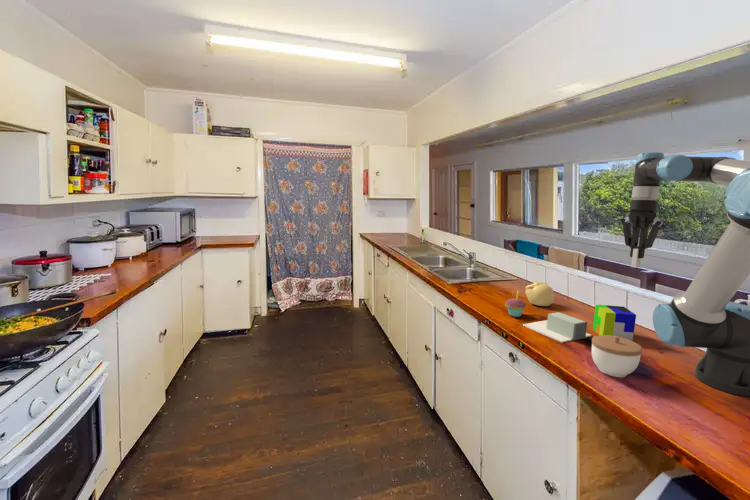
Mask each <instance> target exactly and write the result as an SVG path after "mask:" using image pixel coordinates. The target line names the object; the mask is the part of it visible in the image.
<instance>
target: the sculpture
mask: <svg viewBox="0 0 750 500" xmlns="http://www.w3.org/2000/svg"><path fill="white" fill-rule="evenodd" d="M525 295H526V298H527V300H528V302H529V303H530V304H532V305H536V306H540V307H549V306H551V305H552V303H553V302H554V299H555V292H554V289H553V288H552V287H551V286H550V285H548V284H547V282H542V281H535V282H533V283H531V284H528V285H526V286H525Z"/></svg>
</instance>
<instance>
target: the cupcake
mask: <svg viewBox="0 0 750 500" xmlns="http://www.w3.org/2000/svg"><path fill="white" fill-rule="evenodd" d="M516 291H517V292H516V298H515V297H514V298H513V297H512V298H509V299H507V300H506V301H504V306H505V307H506V308H507V311H508V314H509V316H512V317H514V318H515V317H517V318H519V317H522V313H523V312H524V310H526V308H527V305H526V303H525V302H524V301H523V300H522V299H520V298H519V294H520V289H518V290H516Z"/></svg>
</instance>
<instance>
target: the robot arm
mask: <svg viewBox="0 0 750 500" xmlns="http://www.w3.org/2000/svg"><path fill="white" fill-rule="evenodd" d="M666 181H667V182H670V181H671V182H703V183H704V182H705V183H711V184H716V185H722V186H726V187H727V188H726V190H725V194H724V196H725V197H726V198H725V199H724V201H723V202H724V206H725V208H726V211H727V213H726V217H727V218H728V220H729V222H730V223H729V224H728V226H727V227H726V228H725V230H724V232H723V234H722V235H721V236H720V238H719V239H718V241H717V243H716V244H715V246H714V248H713V249H712V250H711V252H710V254H709V255H708V257H707V258H706V260H705V261H704V263H703V264H702V266H701V267H700V268H699V271H698V272H697V274H696V275H695V277H694V278H693V280H692V281H691V282H690V284H689V286H688V288H687V289H686V290H685V291H681V292H678V293H677V294H675V296H674V297H673V298H672V300H671V302H669V303H665V302H664V303H660V304H657V305H656V306H655V307H654V309H653V313H652V324H653V325H652V326H653V328H654V329H653V330H654V331H655V333H656V336H657V337H658V339H660V340H661V342H662V343H664V344H665V345H668V346H674V347H679V348H698V349H706V351H705V353H704V354H703V355H702V357H701V359H700V360H699V361H698V363H697V364H696V366H695V369H694V377H695V378H696V379H698V380H699V382H701V383H703V384H705V385H706V386H709V387H712V388H714V389H717V390H720V391H722V392H726V393H728V394H733V395H737V396H743V397H749V398H750V305H747V304H743V303H739V302H734V301H731V300H732V299H733V297H734V296H735V294H736V293H737V291H739V289H740V288H741V286H742V285H743V284H744V282H746V280H747V279H748V277H749V276H750V161H749V160H742V159H741V160H740V159H737V158H734V157H730V156H687V155H683V154H672V155H671V154H670V155H668V156H665V154H664V152H658V151H652V152H641V153H639V154H638V155H637V156H636V160H635V164H634V173H633V183H632V184H633V185H632V191H631V198H632V199H631V201H630V206H629V207H630V208H629V210H630V211H629V213H628V216H625V217H624V218H620V222H621V224H622V228H623V235H624V236H623V237H624V243H625V246H628V247H629V248H630V253H629V256H630V258H631V263H630V264H631V266H630V267H631V268H635V269H636V268H640V266H641V262H642V259H644V257H645V253H646V249H650V248H652V247H653V245H654V242H655V240H656V238H657V235H658V233H659V231H660V229H661V227H662V226H663V225H664V224H665V221H664V220H661V219H659V218H658V215H657V210H658V201H659V200H657V199H658V198H659V195H660V186H661V182H666ZM631 224H632V225H631ZM651 224H653V225H652V227H651V229H650V226H651ZM649 230H650V231H649Z"/></svg>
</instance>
